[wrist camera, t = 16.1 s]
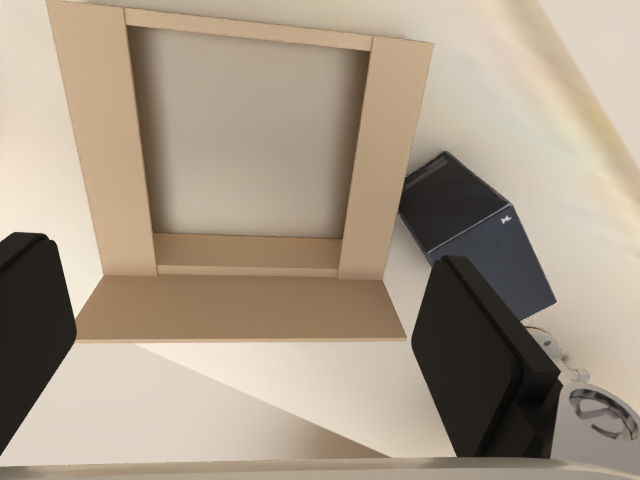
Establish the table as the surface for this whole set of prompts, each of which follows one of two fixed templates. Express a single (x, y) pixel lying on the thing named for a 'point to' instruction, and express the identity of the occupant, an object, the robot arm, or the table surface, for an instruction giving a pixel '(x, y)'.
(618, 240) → the table surface
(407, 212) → the small box
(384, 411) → the table surface
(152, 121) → the table surface
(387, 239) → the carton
